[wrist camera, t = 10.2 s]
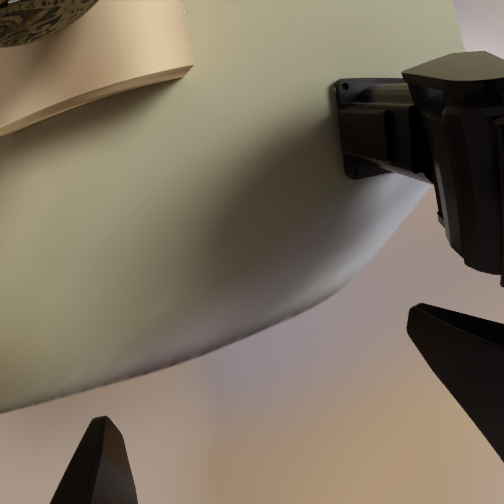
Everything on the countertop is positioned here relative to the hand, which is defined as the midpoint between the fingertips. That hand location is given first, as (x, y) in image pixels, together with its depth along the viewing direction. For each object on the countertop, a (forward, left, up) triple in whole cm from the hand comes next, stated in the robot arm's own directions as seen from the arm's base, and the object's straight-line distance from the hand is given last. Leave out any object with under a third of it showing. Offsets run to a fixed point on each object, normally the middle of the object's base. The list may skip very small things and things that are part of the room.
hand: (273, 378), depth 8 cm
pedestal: (+4, -14, -12) cm, 18 cm away
